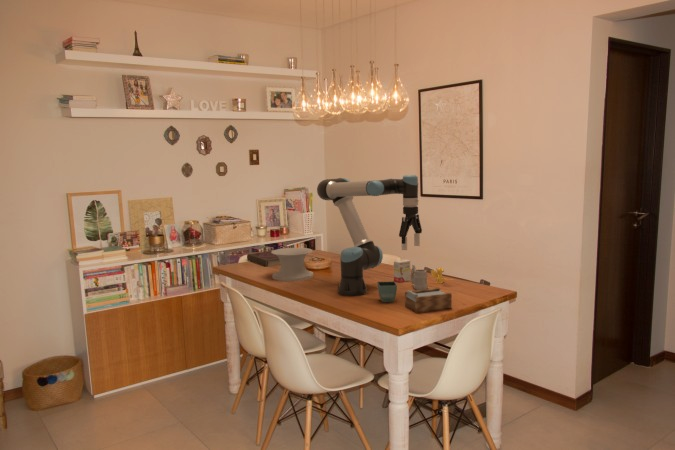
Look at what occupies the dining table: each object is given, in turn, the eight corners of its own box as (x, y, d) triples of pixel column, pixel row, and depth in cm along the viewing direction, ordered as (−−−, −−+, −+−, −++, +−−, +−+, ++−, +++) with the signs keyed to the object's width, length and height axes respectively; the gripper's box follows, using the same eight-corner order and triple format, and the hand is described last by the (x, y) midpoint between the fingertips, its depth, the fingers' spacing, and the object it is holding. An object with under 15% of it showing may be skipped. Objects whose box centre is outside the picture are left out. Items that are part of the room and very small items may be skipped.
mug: (419, 291, 285) (419, 268, 283) (405, 286, 295) (405, 265, 293) (430, 288, 289) (430, 266, 287) (416, 284, 299) (416, 263, 297)
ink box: (398, 282, 304) (398, 262, 302) (393, 281, 308) (393, 260, 307) (410, 280, 308) (410, 260, 307) (405, 279, 312) (405, 259, 311)
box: (416, 313, 245) (416, 297, 244) (405, 306, 257) (405, 291, 256) (451, 308, 251) (451, 293, 250) (438, 302, 262) (438, 287, 261)
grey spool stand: (265, 280, 319) (264, 254, 317) (281, 271, 343) (281, 247, 341) (304, 282, 312) (304, 255, 309) (319, 273, 335) (318, 248, 333)
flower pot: (394, 298, 271) (394, 281, 270) (397, 303, 262) (397, 285, 261) (377, 299, 271) (377, 281, 270) (379, 304, 262) (379, 286, 261)
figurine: (452, 286, 293) (452, 270, 292) (430, 284, 298) (430, 268, 297) (457, 281, 304) (457, 266, 303) (436, 279, 309) (436, 264, 308)
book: (295, 263, 370) (295, 255, 369) (266, 267, 357) (265, 260, 357) (275, 256, 395) (274, 250, 394) (247, 260, 383) (246, 253, 382)
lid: (415, 302, 245) (415, 295, 245) (406, 296, 255) (405, 290, 255) (450, 297, 251) (450, 291, 250) (439, 292, 261) (439, 286, 260)
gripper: (405, 208, 258) (405, 252, 260) (428, 204, 278) (428, 244, 280) (391, 208, 262) (392, 251, 265) (415, 203, 282) (415, 243, 285)
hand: (410, 247), depth 273 cm, fingers open, 13 cm apart
